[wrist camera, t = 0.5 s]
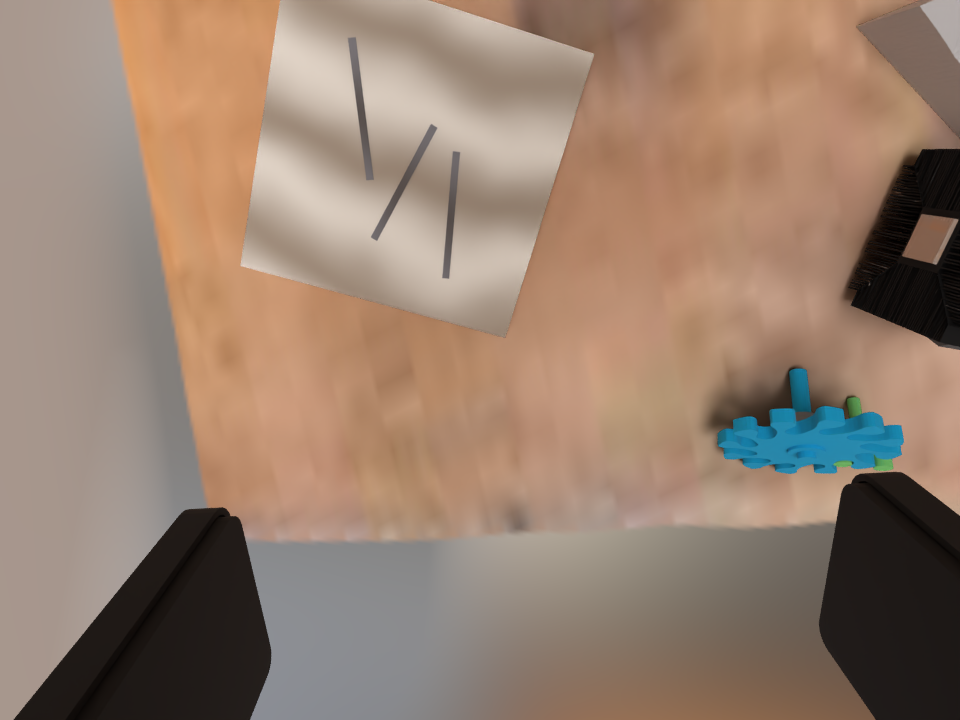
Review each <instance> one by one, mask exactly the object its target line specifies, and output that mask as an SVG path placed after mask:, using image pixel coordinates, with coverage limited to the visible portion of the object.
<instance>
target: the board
mask: <svg viewBox="0 0 960 720" xmlns="http://www.w3.org/2000/svg"><path fill="white" fill-rule="evenodd" d="M593 57H594V54H593V53H590V52H587V51H584V50H581V49H578V48H575V47H571V46H568V45H565V44H562V43H559V42H556V41H553V40H550V39H547V38H544V37H541V36H538V35H535V34H531V33H528V32H525V31H522V30H519V29H516V28H513V27H510V26H507V25H504V24H501V23H498V22H495V21H492V20H488V19H485V18H482V17H479V16H476V15H473V14H470V13H467V12H464V11H461V10H458V9H455V8H452V7H448V6H445V5H442V4H439V3H436V2H433V1H430V0H280V5H279V12H278V18H277V25H276V32H275V38H274V45H273V52H272V59H271V65H270V72H269V79H268V85H267V92H266V99H265V105H264V112H263V119H262V125H261V132H260V139H259V145H258V152H257V159H256V166H255V172H254V179H253V186H252V192H251V199H250V206H249V212H248V219H247V226H246V232H245V239H244V246H243V253H242V259H241V266H243V267H246V268H250V269H254V270H257V271H261V272H265V273H268V274H272V275H276V276H279V277H283V278H287V279H290V280H294V281H298V282H301V283H305V284H309V285H312V286H316V287H320V288H323V289H327V290H331V291H334V292H338V293H342V294H345V295H349V296H353V297H356V298H360V299H364V300H367V301H371V302H375V303H378V304H382V305H386V306H390V307H393V308H397V309H401V310H404V311H408V312H412V313H415V314H419V315H423V316H426V317H430V318H434V319H437V320H441V321H445V322H448V323H452V324H456V325H459V326H463V327H467V328H470V329H474V330H478V331H481V332H485V333H489V334H492V335H496V336H500V337H503V338H505V337H506V334H507V331H508V327H509V324H510V321H511V318H512V315H513V311H514V308H515V305H516V302H517V299H518V296H519V292H520V289H521V286H522V283H523V280H524V276H525V273H526V270H527V267H528V264H529V260H530V257H531V254H532V251H533V248H534V245H535V241H536V238H537V235H538V232H539V229H540V225H541V222H542V219H543V216H544V213H545V209H546V206H547V203H548V200H549V197H550V194H551V190H552V187H553V184H554V181H555V178H556V174H557V171H558V168H559V165H560V162H561V158H562V155H563V152H564V149H565V146H566V143H567V139H568V136H569V133H570V130H571V127H572V123H573V120H574V117H575V114H576V111H577V108H578V104H579V101H580V98H581V95H582V92H583V88H584V85H585V82H586V79H587V76H588V72H589V69H590V66H591V63H592V60H593Z"/></svg>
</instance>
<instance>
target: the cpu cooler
mask: <svg viewBox="0 0 960 720" xmlns="http://www.w3.org/2000/svg"><path fill="white" fill-rule="evenodd" d="M903 167H907V168H905V169H908V170H912V171H904V172H908V173H911V174H901V175H904V176H900V177H904V178H907V179H900V178H897V180H900V181H896V183H900V184H904V185H899V186H903V187H893V188H896V189H892V190H893V191H897V192H894V193H898V194H902V195H905V196H902V195H893V194H890V196H894V197H898V198H894V197H889V198H890V199H894V200H889V199H888V200H887V201H891V202H895V203H891V202H887V204H891V205H895V206H899V207H903V208H899V207H892V208H886V207H884V209H888V210H892V211H896V212H891V211H886V210H883V212H887V213H891V214H895V215H899V216H903V217H898V216H892V215H888V216H883V215H881V216H880V217H884V218H888V219H892V220H896V221H892V220H887V221H891V222H896V223H900V224H904V225H900V224H895V223H890V222H887V223H890V224H894V225H897V226H892V225H887V226H890V227H894V228H898V229H901V230H905V231H900V230H895V229H889V228H885V229H889V230H893V231H897V232H893V231H888V230H884V231H888V232H891V233H895V234H898V235H895V234H890V233H885V232H880V231H875V230H874V232H877V233H881V234H885V235H889V236H885V235H880V234H876V233H873V234H874V235H878V236H882V237H887V238H891V239H895V240H900V241H904V242H907V243H902V242H898V243H902V244H906V245H900V244H895V243H891V242H887V243H891V244H895V245H899V246H903V247H904V248H900V247H896V246H891V245H887V244H883V243H879V242H875V241H869V242H873V243H877V244H881V245H886V246H890V247H894V248H898V249H902V250H903V251H901V250H897V249H892V248H888V247H884V246H880V245H875V244H871V243H868V244H870V245H874V246H878V247H882V248H886V249H890V250H894V251H898V252H902V253H897V254H901V255H900V256H897V255H893V254H889V253H885V252H881V251H877V250H873V249H869V248H866V249H867V250H871V251H875V252H879V253H883V254H887V255H891V256H895V257H899V259H898V258H894V257H890V256H886V255H882V254H878V253H874V252H870V251H865V252H868V253H872V254H875V255H879V256H883V257H887V258H891V259H895V260H898V261H894V260H889V259H885V258H881V257H877V258H881V259H884V260H888V261H891V262H895V263H896V264H893V263H889V262H884V261H880V260H877V261H880V262H884V263H880V262H876V261H873V262H876V263H879V264H882V265H885V266H888V267H885V266H881V265H877V264H873V263H870V264H873V265H876V266H879V267H882V268H879V267H875V266H871V265H867V264H863V263H859V264H861V265H864V266H868V267H871V268H875V269H878V270H881V271H878V270H874V269H870V268H867V269H870V270H873V271H876V272H879V273H876V272H872V271H869V270H865V269H861V268H857V269H859V270H862V271H859V270H856V271H857V272H860V273H864V274H867V275H864V274H860V273H856V272H855V274H858V275H861V276H864V277H867V278H863V277H860V278H863V279H866V280H869V281H870V282H868V281H863V280H859V279H856V280H853V279H852V281H854V282H857V283H854V282H851V283H852V284H855V285H851V284H850V286H853V287H855V288H853V287H848V288H851V289H854V290H857V293H856V295H855V297H854V299H853V301H852V303H851V306H854V307H856V308H858V309H861V310H863V311H866V312H868V313H871V314H873V315H875V316H878V317H880V318H883V319H885V320H887V321H890V322H892V323H895V324H897V325H900V326H902V327H905V328H907V329H909V330H911V331H914V332H916V333H919V334H921V335H923V336H926V337H927V338H929V339H930V340H931V341H933V342H934V343H935V344H937V345H938V346H940V347H946V348H952V349H958V350H960V149H934V150H933V149H932V150H930V149H928V150H927V149H922V151H921V153H920V155H919V157H918V159H917V161H916V163H915V165H914V166H911V165H903ZM905 176H908V177H905ZM901 181H904V182H901ZM895 185H897V184H895ZM904 187H908V188H904ZM899 189H900V190H899ZM900 192H901V193H900ZM897 200H898V201H897ZM898 203H900V204H898ZM888 207H890V206H888ZM893 208H897V209H893ZM900 209H901V210H900ZM897 212H900V213H897ZM902 213H904V214H902ZM884 215H885V214H884ZM889 216H892V217H889ZM895 217H896V218H895ZM904 217H907V218H904ZM882 220H885V219H882ZM879 221H880V220H879ZM899 221H900V222H899ZM883 222H885V221H883ZM880 224H881V223H880ZM883 225H886V224H883ZM905 225H909V226H905ZM898 226H901V227H898ZM910 226H913V227H910ZM878 227H879V226H878ZM903 227H905V228H903ZM882 228H884V227H882ZM880 230H883V229H880ZM906 231H908V232H906ZM898 232H901V233H898ZM904 233H905V234H904ZM900 235H902V236H900ZM890 236H893V237H890ZM905 236H906V237H905ZM894 237H897V238H894ZM877 238H878V237H877ZM899 238H901V239H899ZM872 239H873V238H872ZM881 239H883V238H881ZM903 239H906V240H903ZM876 240H877V239H876ZM886 240H888V239H886ZM880 241H882V240H880ZM890 241H893V240H890ZM884 242H886V241H884ZM894 242H897V241H894ZM867 246H868V245H867ZM871 247H872V246H871ZM875 248H876V247H875ZM879 249H880V248H879ZM882 250H884V249H882ZM886 251H888V250H886ZM890 252H892V251H890ZM893 253H896V252H893ZM867 255H868V254H867ZM870 256H872V255H870ZM874 257H876V256H874ZM863 259H864V258H863ZM869 259H871V258H869ZM866 260H868V259H866ZM873 260H875V259H873ZM869 261H872V260H869ZM865 262H866V261H865ZM867 263H869V262H867ZM885 263H887V264H885ZM889 264H891V265H889ZM861 267H862V266H861ZM889 267H890V268H889ZM864 268H866V267H864ZM884 268H885V269H884ZM863 271H866V272H863ZM882 271H884V272H882ZM868 272H869V273H868ZM880 273H881V274H880ZM868 275H870V276H868ZM854 276H855V275H854ZM872 276H873V277H872ZM857 277H859V276H857ZM868 278H870V279H868ZM872 279H873V280H872ZM857 280H859V281H857ZM861 281H862V282H861ZM858 283H860V284H858ZM862 284H863V285H862ZM856 285H858V286H856ZM860 286H861V287H860ZM857 288H858V289H857Z"/></svg>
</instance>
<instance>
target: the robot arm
mask: <svg viewBox="0 0 960 720" xmlns="http://www.w3.org/2000/svg"><path fill="white" fill-rule="evenodd" d="M819 627H820V633H821V637H822V639H823V642H824V644H825V646H826V648H827V649H828V651H829V652H830V654H831V655H832V657H833V658H834V660H835V661H836V662H837V664H838V665H839V667H840V668H841V670H842V671H843V673H844V674H845V676H846V677H847V678H848V680H849V681H850V683H851V684H852V686H853V687H854V688H855V690H856V691H857V693H858V694H859V696H860V697H861V699H862V700H863V702H864V703H865V704H866V706H867V707H868V709H869V710H870V712H871V713H872V715H873V716H874V717H875V719H876V720H960V516H959V515H958V514H957V513H955V512H954V511H953V510H951V509H950V508H949V507H948V506H946V505H945V504H944V503H942V502H941V501H940V500H938V499H937V498H936V497H935V496H933V495H932V494H931V493H929V492H928V491H927V490H925V489H924V488H923V487H922V486H920V485H919V484H918V483H916V482H915V481H914V480H912V479H911V478H910V477H909V476H907V475H905V474H903V473H902V472H884V473H865V474H859V475H857V476H855V478H854V479H853V480H852V483H851V484H848V485H845V487H844V488H843V490H842V493H841V498H840V504H839V510H838V516H837V521H836V528H835V533H834V539H833V544H832V550H831V556H830V562H829V567H828V573H827V579H826V585H825V591H824V596H823V602H822V608H821V614H820V620H819ZM270 664H271V647H270V642H269V638H268V634H267V629H266V625H265V621H264V617H263V613H262V608H261V604H260V600H259V596H258V591H257V587H256V583H255V579H254V575H253V570H252V566H251V562H250V557H249V554H248V549H247V545H246V541H245V536H244V532H243V528H242V524H241V521H240V519H239V518H238V517H236V516H230V513H229V512H228V511H227V509H225V508H223V507H222V508H204V509H189V510H185V511H183V512H182V513H181V514H180V515H179V516H178V518H177V519H176V520H175V521H174V523H173V524H172V525H171V526H170V528H169V529H168V530H167V531H166V532H165V534H164V535H163V536H162V538H161V539H160V540H159V541H158V542H157V544H156V545H155V546H154V547H153V549H152V550H151V551H150V552H149V554H148V555H147V556H146V557H145V558H144V560H143V561H142V562H141V563H140V564H139V566H138V567H137V568H136V569H135V571H134V572H133V573H132V574H131V576H130V577H129V578H128V579H127V581H126V582H125V583H124V584H123V585H122V587H121V588H120V589H119V590H118V592H117V593H116V594H115V595H114V597H113V598H112V599H111V600H110V602H109V603H108V604H107V605H106V606H105V608H104V609H103V610H102V611H101V613H100V614H99V615H98V616H97V617H96V619H95V620H94V621H93V623H92V624H91V625H90V626H89V627H88V629H87V630H86V631H85V632H84V634H83V635H82V636H81V637H80V638H79V640H78V641H77V642H76V643H75V645H74V646H73V647H72V648H71V650H70V651H69V652H68V653H67V655H66V656H65V657H64V658H63V660H62V661H61V662H60V663H59V664H58V666H57V667H56V668H55V669H54V670H53V672H52V673H51V674H50V675H49V677H48V678H47V679H46V680H45V682H44V683H43V684H42V685H41V687H40V688H39V689H38V690H37V691H36V693H35V694H34V695H33V696H32V698H31V699H30V700H29V701H28V703H27V704H26V705H25V707H23V709H22V710H21V711H20V713H19V714H18V715H17V716H16V717H15V719H14V720H250V718H251V716H252V713H253V711H254V708H255V706H256V703H257V701H258V698H259V696H260V693H261V691H262V688H263V686H264V683H265V680H266V678H267V676H268V673H269V669H270Z"/></svg>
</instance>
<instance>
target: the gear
mask: <svg viewBox="0 0 960 720" xmlns="http://www.w3.org/2000/svg"><path fill="white" fill-rule="evenodd" d="M789 376H790V386H791V397H792V407H793V409H788V408H783V409H771V410H770V411H769V413H770V425H771V426H767V427H762V426H757V419H756V418H754V417H751V416H748V417H742V418H738V419H734V420H733V429H723V430H721V431H720V432H719V433H718V446H719V447H723V449H724V457H725V459H740V458H742V459H743V465H744V466H746V467H749V468H751V469H756V468H761V467H763V466H767V465H772V464H775V471H777V472H781V473H788V474H792V473H796V472H797V470H798V469H799V468H801V467H803V466H807V465H811V464H813V465H814V472H815V473H836V472H837V467H836V466H838V467H847V466H851V467H852V468H854V469H863V468H871V467H873V468H874V469H875V470H879V471H887V470H892V469H893V463H892V458H895V457H898V456H900V455H902V452H901V447H900V446H901V445H902V444H903V442H904V438H903V433H902V427H901V426H900V425H887V426H884V424H883V418H882V417H881V416H880V415H879V414H877V413H874V412H868V413H863V414H862V411H861V404H860V399H859V398H857V397H852V398H848V399H847V405H848V412H849V419H845V418H844V411H843V409H841V408H836V407H829V406H822V407H819V408H817V409H816V412H815V413H813V412H811V403H810V394H809V385H808V377H807V370H805V369H793V370H791V371H790V372H789Z"/></svg>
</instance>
